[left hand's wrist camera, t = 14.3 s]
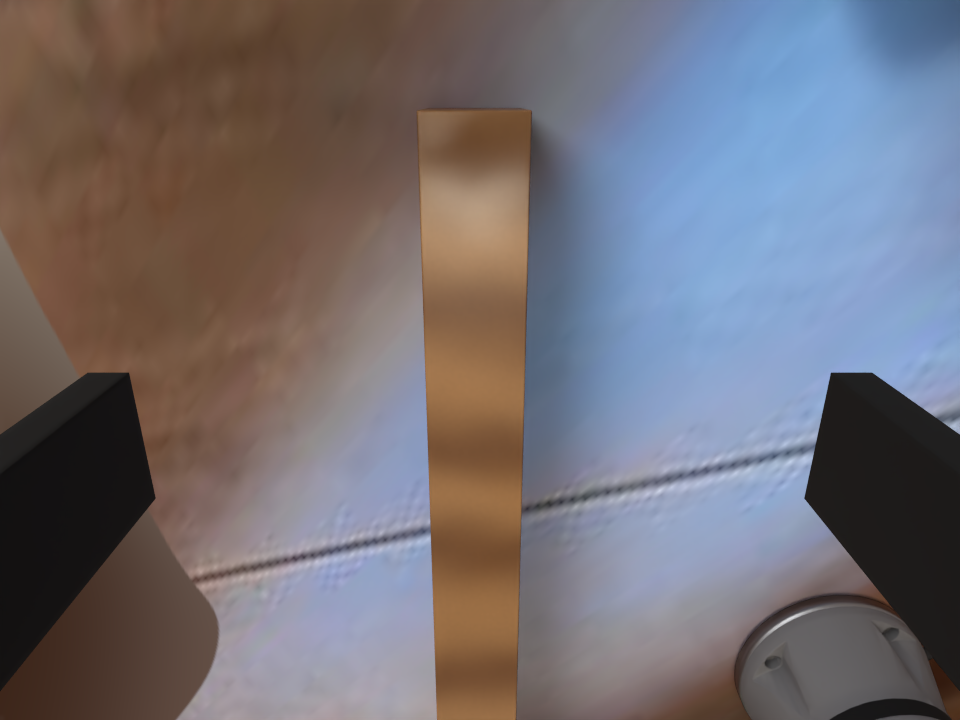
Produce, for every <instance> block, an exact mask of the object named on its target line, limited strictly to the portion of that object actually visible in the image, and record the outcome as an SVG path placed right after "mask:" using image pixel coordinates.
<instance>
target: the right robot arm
mask: <svg viewBox="0 0 960 720" xmlns="http://www.w3.org/2000/svg"><path fill="white" fill-rule="evenodd" d="M932 658H933V657H932V656H931V655H930V654H929V652H928V651H927V650H926V649H925V647H924V648H923V647H922V645H921V643H920V642H919V640H918V639H917V637H916V636H915V635H914V634H913V632H912V631H911V630H910V629H909V628H908V626H907V625H906V624H905V623H904V621H903V620H902V619H901V618H900V616H899V615H898V614H897V613H896V612H895V611H894V610H892V609H891V608H889V607H888V606H886V605H884V604H882V603H880V602H877V601H875V600H871V599H868V598H864V597H858V596H849V595H835V596H825V597H819V598H814V599H810V600H806V601H803V602H800V603H798V604H795V605H792V606H790V607H788V608H786V609H784V610H782V611H780V612H778V613H777V614H775V615H774V616H772V617H771V618H769V619H768V620H767V621H765V622H764V623H763V624H762V625H761V626H759V627H758V628H757V629H756V630H755V631H754V632H753V634H752V635H751V636H750V637H749V638H748V640H747V641H746V643H745V644H744V646H743V647H742V649H741V651H740V653H739V656H738V659H737V662H736V666H735V685H736V689H737V692H738V694H739V697H740V699H741V701H742V704H743V706H744V708H745V710H746V712H747V713H748V715H749V716H750V718H751V719H752V720H952V719H951V718H950V717H949V715H948V714H947V712H946V710H945V707H944V704H943V701H942V699H941V696H940V693H939V690H938V687H937V684H936V681H935V679H934V676H933V673H932V670H931V667H930V664H929V662H928V660H930V659H932Z"/></svg>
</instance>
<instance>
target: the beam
mask: <svg viewBox="0 0 960 720" xmlns="http://www.w3.org/2000/svg"><path fill="white" fill-rule="evenodd" d="M531 125H532V111H531V110H527V109H522V108H427V109H422V110H418V111H417V135H418V164H419V194H420V224H421V253H422V283H423V313H424V343H425V372H426V402H427V432H428V462H429V491H430V521H431V551H432V581H433V610H434V640H435V670H436V699H437V720H516V702H517V664H518V625H519V587H520V548H521V510H522V471H523V433H524V394H525V356H526V317H527V279H528V240H529V202H530V163H531Z"/></svg>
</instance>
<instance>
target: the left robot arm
mask: <svg viewBox="0 0 960 720" xmlns="http://www.w3.org/2000/svg"><path fill="white" fill-rule="evenodd" d="M154 500H155V494H154V489H153V484H152V479H151V475H150V470H149V465H148V460H147V456H146V451H145V446H144V442H143V437H142V432H141V427H140V423H139V418H138V413H137V409H136V404H135V399H134V394H133V390H132V385H131V380H130V376H129V373H87V374H85V375H84V376H83V377H81V378H80V379H78V380H77V381H76V382H74V383H73V384H71V385H70V386H68V387H67V388H66V389H64V390H63V391H61V392H60V393H59V394H57V395H56V396H54V397H53V398H51V399H50V400H49V401H47V402H46V403H44V404H43V405H42V406H40V407H39V408H37V409H36V410H35V411H33V412H32V413H30V414H29V415H27V416H26V417H25V418H23V419H22V420H20V421H19V422H18V423H16V424H15V425H13V426H12V427H10V428H9V429H8V430H6V431H5V432H3V433H2V434H0V691H1V690H2V688H3V687H4V686H5V685H6V683H7V682H8V681H9V680H10V678H11V677H12V676H13V675H14V673H15V672H16V671H17V670H18V668H19V667H20V666H21V665H22V664H23V662H24V661H25V660H26V658H27V657H28V656H29V655H30V654H31V652H32V651H33V650H34V649H35V647H36V646H37V645H38V644H39V642H40V641H41V640H42V639H43V637H44V636H45V635H46V634H47V632H48V631H49V630H50V629H51V628H52V626H53V625H54V624H55V623H56V621H57V620H58V619H59V618H60V616H61V615H62V614H63V613H64V611H65V610H66V609H67V608H68V606H69V605H70V604H71V603H72V601H73V600H74V599H75V598H76V596H77V595H78V594H79V593H80V592H81V590H82V589H83V588H84V587H85V585H86V584H87V583H88V582H89V580H90V579H91V578H92V577H93V575H94V574H95V573H96V572H97V570H98V569H99V568H100V567H101V565H102V564H103V563H104V562H105V561H106V559H107V558H108V557H109V556H110V554H111V553H112V552H113V551H114V549H115V548H116V547H117V546H118V544H119V543H120V542H121V541H122V539H123V538H124V537H125V536H126V534H127V533H128V532H129V531H130V530H131V528H132V527H133V526H134V524H135V523H136V522H137V521H138V520H139V518H140V517H141V516H142V515H143V513H144V512H145V511H146V510H147V508H148V507H149V506H150V505H151V503H152V502H153V501H154ZM805 500H806V501H807V502H808V503H809V505H810V506H811V507H812V508H813V510H814V511H815V512H816V513H817V515H818V516H819V517H820V518H821V520H822V521H823V522H824V523H825V525H826V526H827V527H828V528H829V530H830V531H831V532H832V533H833V534H834V536H835V537H836V538H837V539H838V541H839V542H840V543H841V544H842V546H843V547H844V548H845V549H846V551H847V552H848V553H849V554H850V556H851V557H852V558H853V559H854V561H855V562H856V563H857V564H858V565H859V567H860V568H861V569H862V570H863V572H864V573H865V574H866V575H867V577H868V578H869V579H870V580H871V582H872V583H873V584H874V585H875V587H876V588H877V589H878V590H879V592H880V593H881V594H882V595H883V597H884V598H885V599H886V600H887V601H888V603H889V604H890V605H891V606H892V608H893V609H894V610H895V611H896V613H897V614H898V615H899V616H900V618H901V619H902V620H903V621H904V623H905V624H906V625H907V626H908V628H909V629H910V630H911V631H912V632H913V634H914V635H915V636H916V637H917V639H918V640H919V641H920V642H921V644H922V645H923V646H924V647H925V649H926V650H927V651H928V652H929V654H930V655H931V656H932V657H933V659H934V660H935V661H936V662H937V664H938V665H939V666H940V667H941V668H942V670H943V671H944V672H945V673H946V675H947V676H948V677H949V678H950V680H951V681H952V682H953V683H954V685H955V686H956V687H957V688H958V690H959V691H960V434H958V433H957V432H955V431H954V430H952V429H951V428H950V427H948V426H947V425H945V424H944V423H943V422H941V421H940V420H938V419H937V418H935V417H934V416H933V415H931V414H930V413H928V412H927V411H926V410H924V409H923V408H921V407H920V406H918V405H917V404H916V403H914V402H913V401H911V400H910V399H909V398H907V397H906V396H904V395H903V394H901V393H900V392H899V391H897V390H896V389H894V388H893V387H892V386H890V385H889V384H887V383H886V382H884V381H883V380H882V379H880V378H879V377H877V376H876V375H875V374H873V373H831V376H830V380H829V385H828V390H827V394H826V399H825V404H824V409H823V413H822V418H821V423H820V427H819V432H818V437H817V442H816V446H815V451H814V456H813V460H812V465H811V470H810V475H809V479H808V484H807V489H806V494H805Z"/></svg>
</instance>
